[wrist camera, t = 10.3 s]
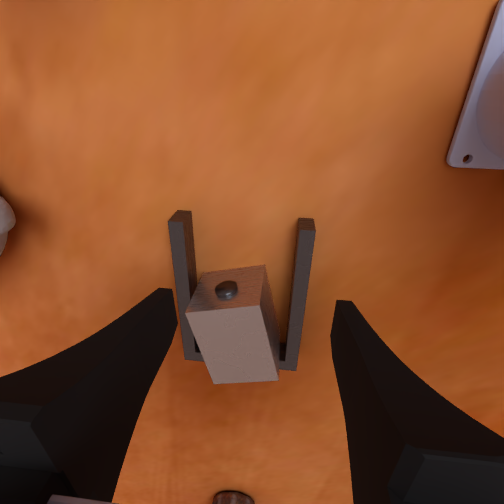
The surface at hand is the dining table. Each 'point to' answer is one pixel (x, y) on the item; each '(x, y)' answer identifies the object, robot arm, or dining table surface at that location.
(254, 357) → the block
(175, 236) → the channel bracket
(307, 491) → the dining table surface
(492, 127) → the robot arm
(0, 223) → the teacup
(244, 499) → the sauce bottle
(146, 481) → the dining table surface
